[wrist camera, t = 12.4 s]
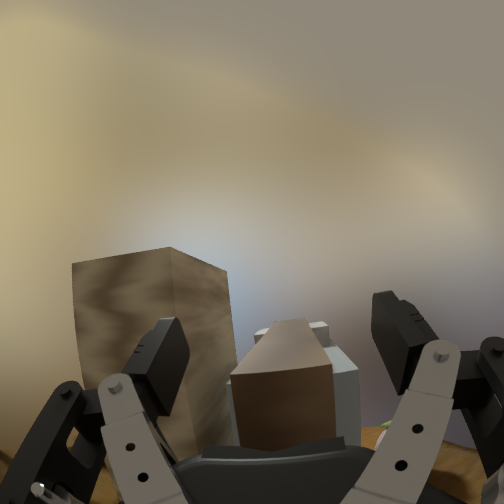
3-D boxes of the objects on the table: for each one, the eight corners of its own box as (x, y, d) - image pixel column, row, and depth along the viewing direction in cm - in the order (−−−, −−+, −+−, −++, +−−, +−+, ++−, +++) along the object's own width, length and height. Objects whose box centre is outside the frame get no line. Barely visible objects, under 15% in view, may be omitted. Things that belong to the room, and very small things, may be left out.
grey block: (259, 563, 14) (225, 384, 18) (274, 479, 32) (258, 344, 36) (351, 555, 13) (358, 369, 17) (335, 473, 31) (327, 336, 34)
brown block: (177, 453, 8) (161, 375, 9) (262, 344, 35) (259, 320, 36) (403, 433, 7) (403, 349, 8) (324, 336, 34) (321, 312, 35)
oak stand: (142, 545, 16) (71, 263, 21) (191, 477, 33) (158, 279, 39) (229, 561, 14) (170, 246, 20) (254, 480, 32) (226, 271, 38)
